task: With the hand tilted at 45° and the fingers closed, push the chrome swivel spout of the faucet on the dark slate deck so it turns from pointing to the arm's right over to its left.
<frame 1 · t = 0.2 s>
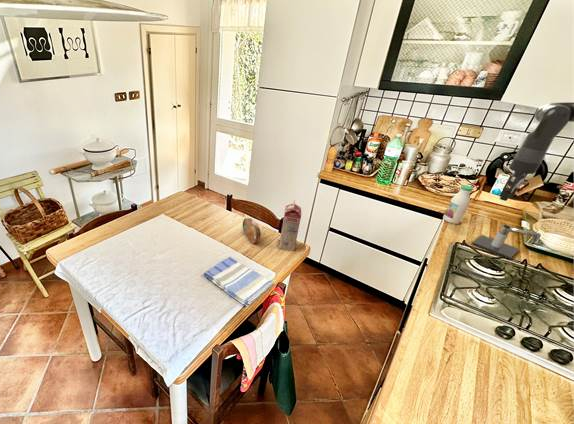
hand: (506, 197, 124), 29 cm above the table, tool pointing down, fingers open, 8 cm apart
dish towel: (238, 282, 120), on the table
milk bottle: (451, 220, 164), on the table
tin: (250, 237, 147), on the table
spout: (519, 232, 136), point 10 cm above the table, hinge at 30.0°
juice carton: (286, 245, 142), on the table
faucet base: (494, 247, 142), on the table
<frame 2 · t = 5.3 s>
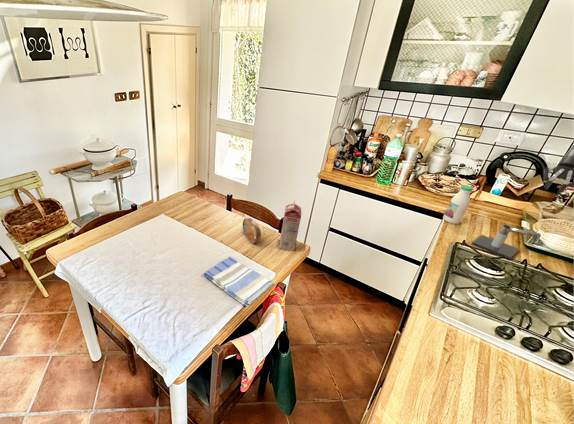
hand: (552, 190, 137), 26 cm above the table, tool tilted 45°, fingers open, 3 cm apart
nothing on the table moved.
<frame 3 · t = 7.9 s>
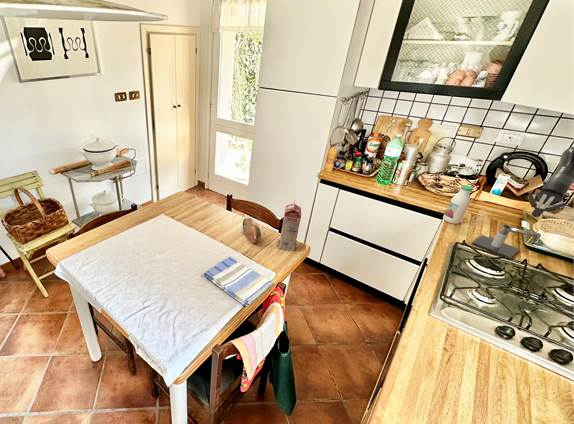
hand: (534, 216, 139), 15 cm above the table, tool tilted 45°, fingers closed
nothing on the table moved.
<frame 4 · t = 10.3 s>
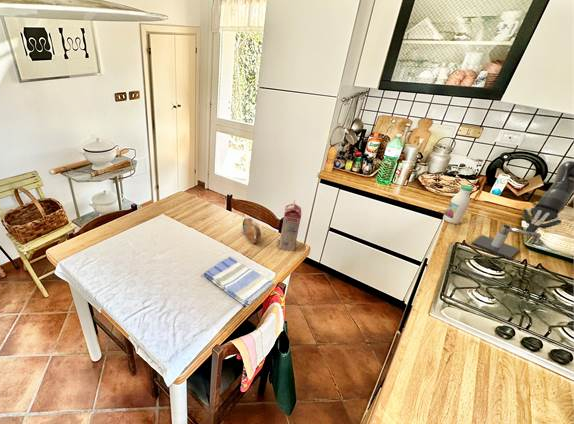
hand: (529, 232, 135), 10 cm above the table, tool tilted 45°, fingers closed
spout: (519, 232, 136), point 10 cm above the table, hinge at 29.6°, touching gripper
everything else where it was.
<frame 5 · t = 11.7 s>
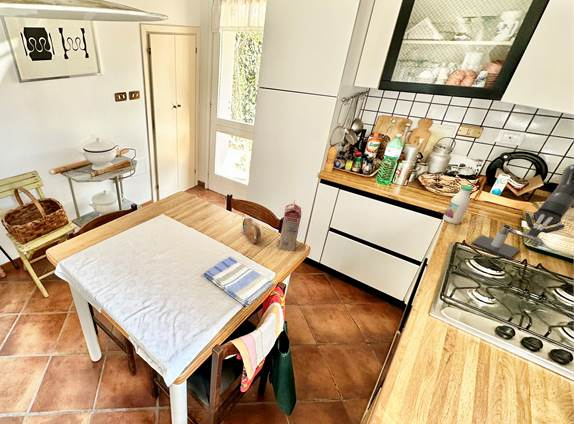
hand: (531, 237, 132), 10 cm above the table, tool tilted 45°, fingers closed
spout: (520, 235, 134), point 10 cm above the table, hinge at 0.0°, touching gripper
everything else where it was.
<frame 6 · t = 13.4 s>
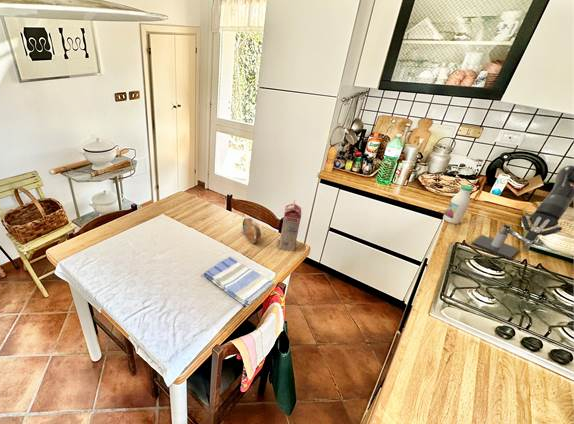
hand: (528, 240, 130), 10 cm above the table, tool tilted 45°, fingers closed
spout: (515, 236, 133), point 10 cm above the table, hinge at -33.2°
everything else where it was.
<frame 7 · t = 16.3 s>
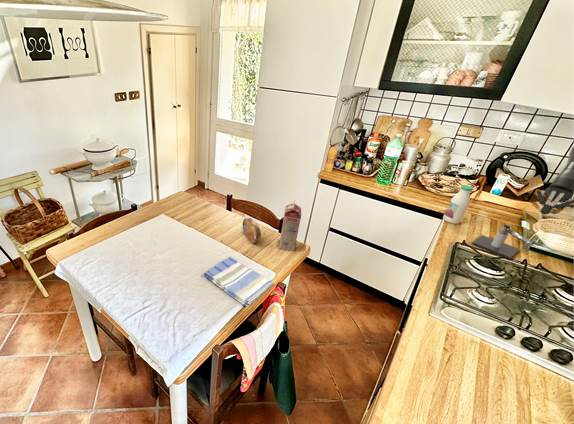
hand: (543, 213, 134), 18 cm above the table, tool tilted 45°, fingers closed
nothing on the table moved.
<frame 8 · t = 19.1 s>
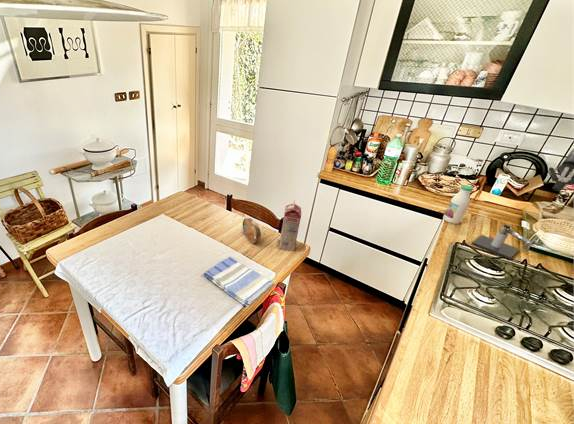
hand: (556, 189, 133), 28 cm above the table, tool tilted 45°, fingers closed
nothing on the table moved.
at the end: spout at -33° (first picture: +30°); milk bottle moved 0.2 cm from its start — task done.
